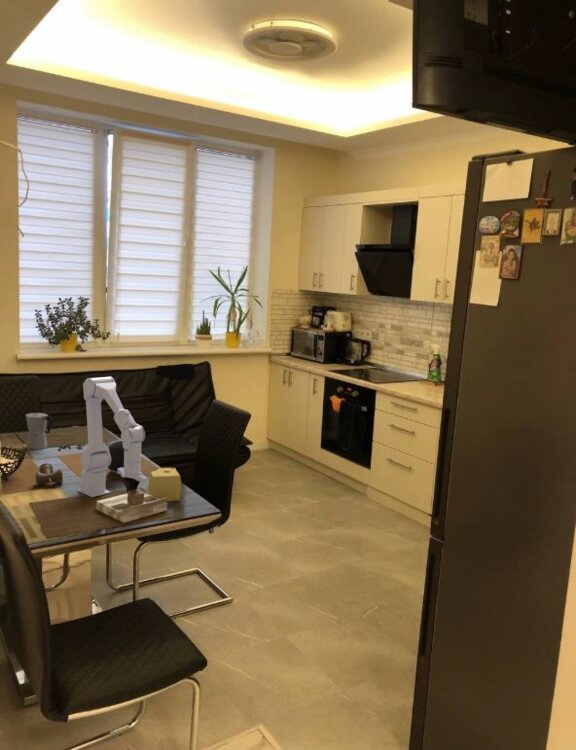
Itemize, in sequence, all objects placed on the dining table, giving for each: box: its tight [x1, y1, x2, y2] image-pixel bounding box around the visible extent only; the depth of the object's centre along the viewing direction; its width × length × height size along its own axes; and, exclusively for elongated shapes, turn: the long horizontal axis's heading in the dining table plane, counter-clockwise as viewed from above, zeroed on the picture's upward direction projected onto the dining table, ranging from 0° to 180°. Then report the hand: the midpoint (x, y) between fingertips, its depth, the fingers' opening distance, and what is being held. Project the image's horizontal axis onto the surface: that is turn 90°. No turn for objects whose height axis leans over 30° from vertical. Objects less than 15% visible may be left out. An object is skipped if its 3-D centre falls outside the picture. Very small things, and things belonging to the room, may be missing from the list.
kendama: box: [35, 462, 64, 487], centre depth 243 cm, size 6×10×20 cm
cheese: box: [147, 467, 182, 502], centre depth 234 cm, size 10×11×10 cm
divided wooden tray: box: [96, 491, 168, 524], centre depth 220 cm, size 16×18×4 cm
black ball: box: [106, 440, 126, 482], centre depth 254 cm, size 13×13×15 cm
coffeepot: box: [24, 408, 54, 451], centre depth 288 cm, size 15×9×18 cm, turn 70°
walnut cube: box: [127, 488, 144, 506], centre depth 218 cm, size 4×4×4 cm
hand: (131, 498), depth 220 cm, fingers closed, pressing on walnut cube
